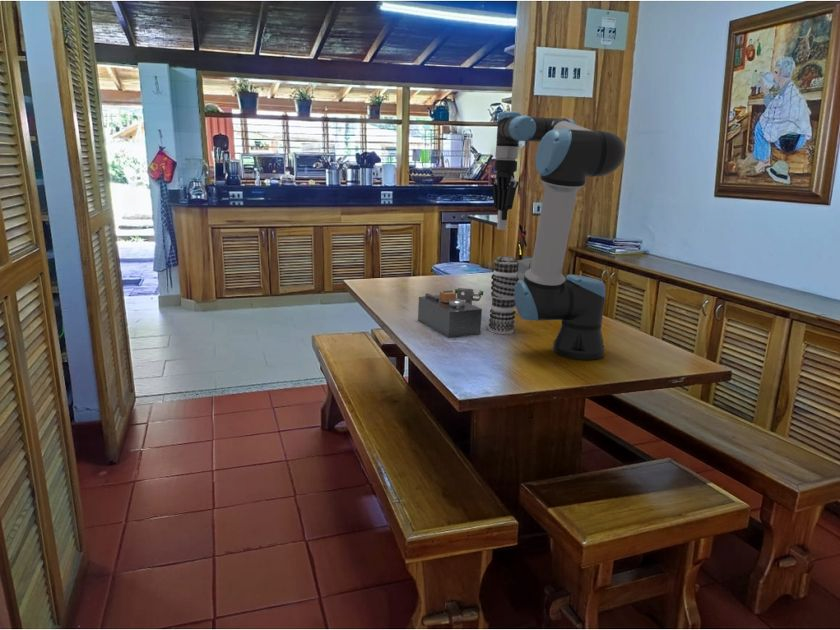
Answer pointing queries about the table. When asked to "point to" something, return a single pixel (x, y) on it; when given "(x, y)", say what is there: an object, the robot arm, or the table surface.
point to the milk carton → (523, 267)
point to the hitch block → (449, 317)
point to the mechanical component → (468, 295)
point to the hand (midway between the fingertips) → (501, 229)
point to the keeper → (447, 296)
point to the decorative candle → (503, 295)
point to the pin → (456, 303)
